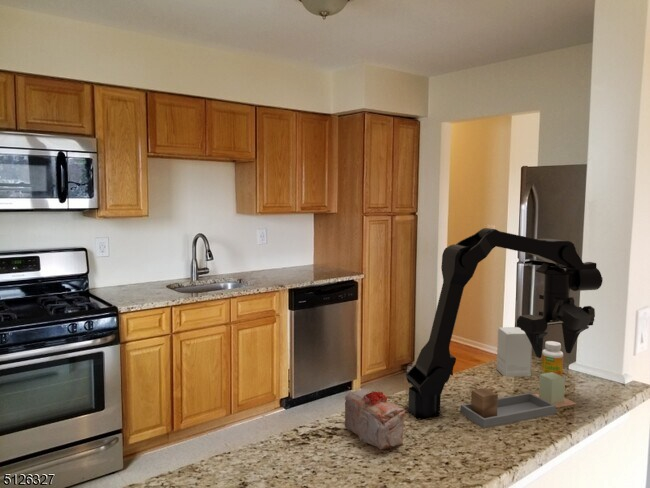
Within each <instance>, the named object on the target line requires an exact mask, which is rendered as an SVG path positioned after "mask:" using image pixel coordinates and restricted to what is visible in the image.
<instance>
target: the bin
mask: <svg viewBox="0 0 650 488" xmlns="http://www.w3.org/2000/svg"><path fill="white" fill-rule="evenodd" d="M460 414H461V415H462V416H464V417H465V418H467V419H469V420H470V421H472V422H474V424H475V425H477V426H479V427H481V428H482V429H488V428H492V427H498V426H502V425H509V424H513V423H518V422H523V421H527V420H533V419H538V418H543V417H548V416H554V415H556V414H557V408H556V405H554V404H552V403H550V402H548V401H546V400H544V399H542V398H540V397H538V396H536V395H534V393H532V392H526V393H521V394H516V395H515V394H514V395H509V396H504V397H498V407H497V416H493V417H488V418H483V417H482V416H480V415H478V414H477V413H475V412H474V411H472V410H471V402H469V403H464V404H463V403H462V404H460Z"/></svg>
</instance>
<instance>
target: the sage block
mask: <svg viewBox="0 0 650 488" xmlns="http://www.w3.org/2000/svg"><path fill="white" fill-rule="evenodd" d="M538 379H539V382H538V394H539V397H540V398H542V399H544V400H546V401H548V402H550V403H552V404H554V403H560V402H564V398H565V391H566V389H565V388H566V387H565V386H566V377H565V376H563V375H562V376H560V375H558V374H555V373H553V372H550V373H544V374H541V373H539V378H538Z"/></svg>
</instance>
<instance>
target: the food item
mask: <svg viewBox="0 0 650 488" xmlns="http://www.w3.org/2000/svg"><path fill="white" fill-rule="evenodd" d="M344 400H345V402H344V407H345V408H344V412H345V413H344V427H345V429H346V430H348V431H350V432H352V433H354V434H356V435H357V436H358V439H359V441H360V442H361V443H365V444H367V443H368V444H369V445H370V446H373V447H377V448H378V450H379V451H381V450H387V449H391V448H394V447H397V446H402V445H403V437H404V427H405V417H406V410H405V408H403V407H401V406H399V405H397V404H395V403H393V402H390V401H389V400H388V396H387V395H385V394H384V392H383V391H378V392H377V391H375V390H372V391H370V390H368V389H357V390H354V391H352V392H349V393H347V394H346V395H345V397H344Z"/></svg>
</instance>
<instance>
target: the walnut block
mask: <svg viewBox="0 0 650 488" xmlns="http://www.w3.org/2000/svg"><path fill="white" fill-rule="evenodd" d="M470 395H471V399H470V400H471V402H470V403H471V410H472V411H474V412H475V413H477V414H478V415H480V416H482V417H483V418H488V417H493V416H497V407H498V398H499V394H498V393H497V392H495V391H493V390H490V388H488V387H484V388H483V387H482V388H477V389H471V394H470Z"/></svg>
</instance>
